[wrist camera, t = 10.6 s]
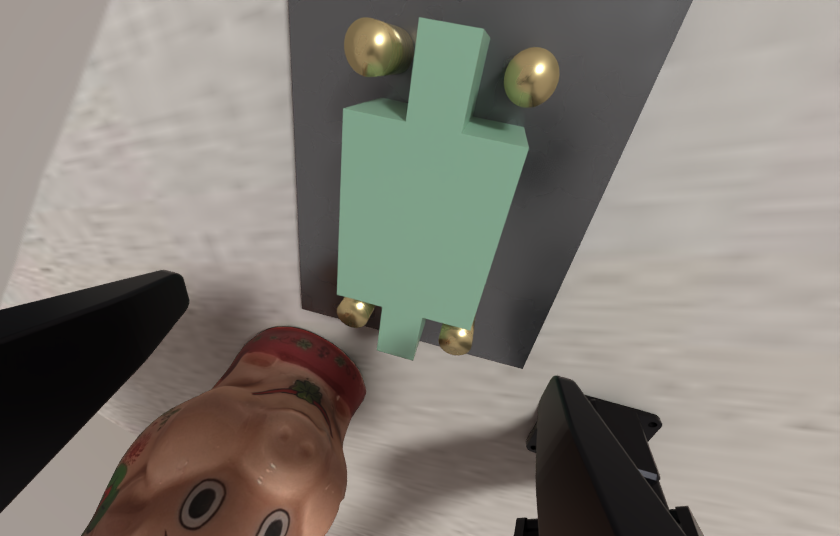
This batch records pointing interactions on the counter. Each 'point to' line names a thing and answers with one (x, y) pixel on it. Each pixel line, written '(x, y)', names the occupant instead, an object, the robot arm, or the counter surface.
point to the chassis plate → (498, 101)
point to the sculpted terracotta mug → (244, 449)
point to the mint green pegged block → (426, 191)
